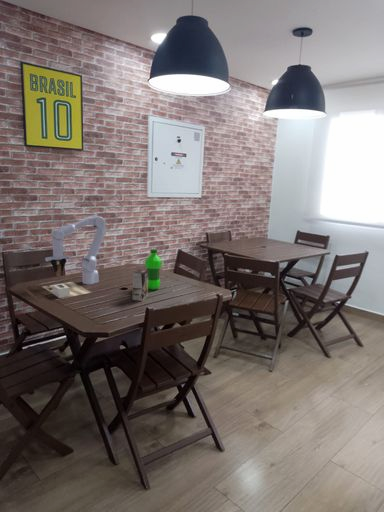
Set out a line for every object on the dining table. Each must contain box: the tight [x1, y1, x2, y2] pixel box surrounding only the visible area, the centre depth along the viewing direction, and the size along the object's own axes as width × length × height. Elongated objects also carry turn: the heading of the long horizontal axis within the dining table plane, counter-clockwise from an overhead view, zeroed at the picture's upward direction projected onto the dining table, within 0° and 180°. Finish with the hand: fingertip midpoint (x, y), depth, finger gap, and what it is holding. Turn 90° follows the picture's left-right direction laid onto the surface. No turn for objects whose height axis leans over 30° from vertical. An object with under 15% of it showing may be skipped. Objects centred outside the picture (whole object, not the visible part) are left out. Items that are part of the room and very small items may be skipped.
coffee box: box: [132, 268, 149, 302], centre depth 210 cm, size 9×6×16 cm
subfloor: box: [42, 281, 93, 299], centre depth 216 cm, size 19×26×1 cm
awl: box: [55, 263, 62, 276], centre depth 219 cm, size 3×3×6 cm
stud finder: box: [51, 283, 70, 299], centre depth 205 cm, size 6×9×6 cm, turn 42°
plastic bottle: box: [144, 248, 162, 291], centre depth 228 cm, size 10×10×25 cm
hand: (58, 271), depth 219 cm, fingers closed on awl, 3 cm apart
